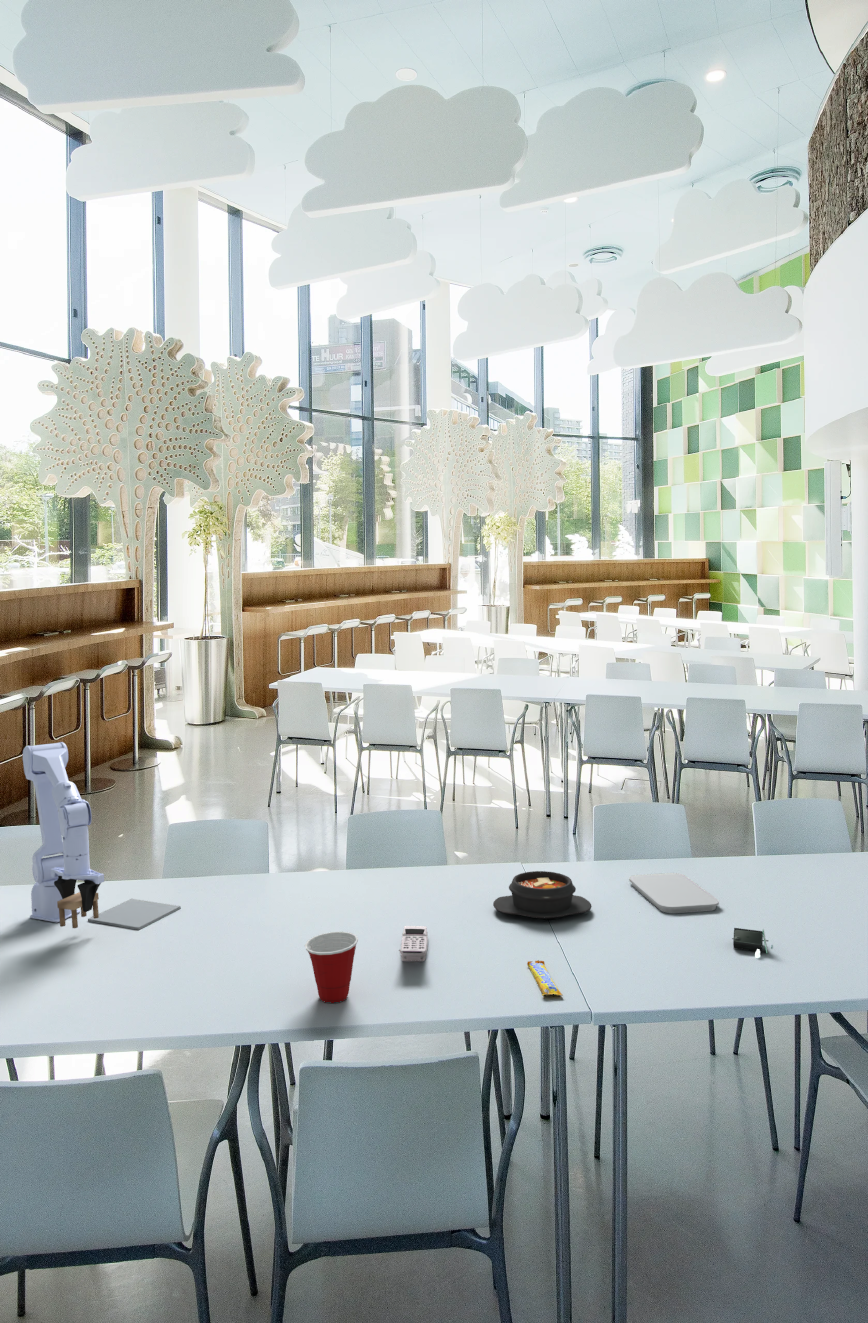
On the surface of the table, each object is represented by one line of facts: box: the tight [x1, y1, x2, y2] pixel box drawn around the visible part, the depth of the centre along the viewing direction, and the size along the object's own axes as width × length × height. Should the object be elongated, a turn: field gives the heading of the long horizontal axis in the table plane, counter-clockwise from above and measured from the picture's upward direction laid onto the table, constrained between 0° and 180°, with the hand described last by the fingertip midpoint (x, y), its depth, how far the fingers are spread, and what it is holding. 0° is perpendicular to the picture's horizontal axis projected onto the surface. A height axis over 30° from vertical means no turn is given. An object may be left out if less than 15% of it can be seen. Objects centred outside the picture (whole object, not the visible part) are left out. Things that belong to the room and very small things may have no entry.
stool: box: [57, 891, 100, 929], centre depth 220 cm, size 5×8×6 cm, turn 157°
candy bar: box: [526, 959, 563, 997], centre depth 194 cm, size 17×4×2 cm, turn 6°
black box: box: [731, 927, 773, 959], centre depth 211 cm, size 15×15×6 cm
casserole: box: [492, 870, 593, 920], centre depth 235 cm, size 25×19×8 cm
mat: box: [87, 898, 181, 931], centre depth 235 cm, size 16×16×1 cm
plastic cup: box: [304, 931, 359, 1004], centre depth 187 cm, size 11×11×12 cm
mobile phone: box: [398, 925, 429, 962], centre depth 209 cm, size 6×6×25 cm
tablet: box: [628, 872, 720, 914], centre depth 246 cm, size 16×26×2 cm, turn 9°
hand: (78, 909), depth 220 cm, fingers closed on stool, 5 cm apart
